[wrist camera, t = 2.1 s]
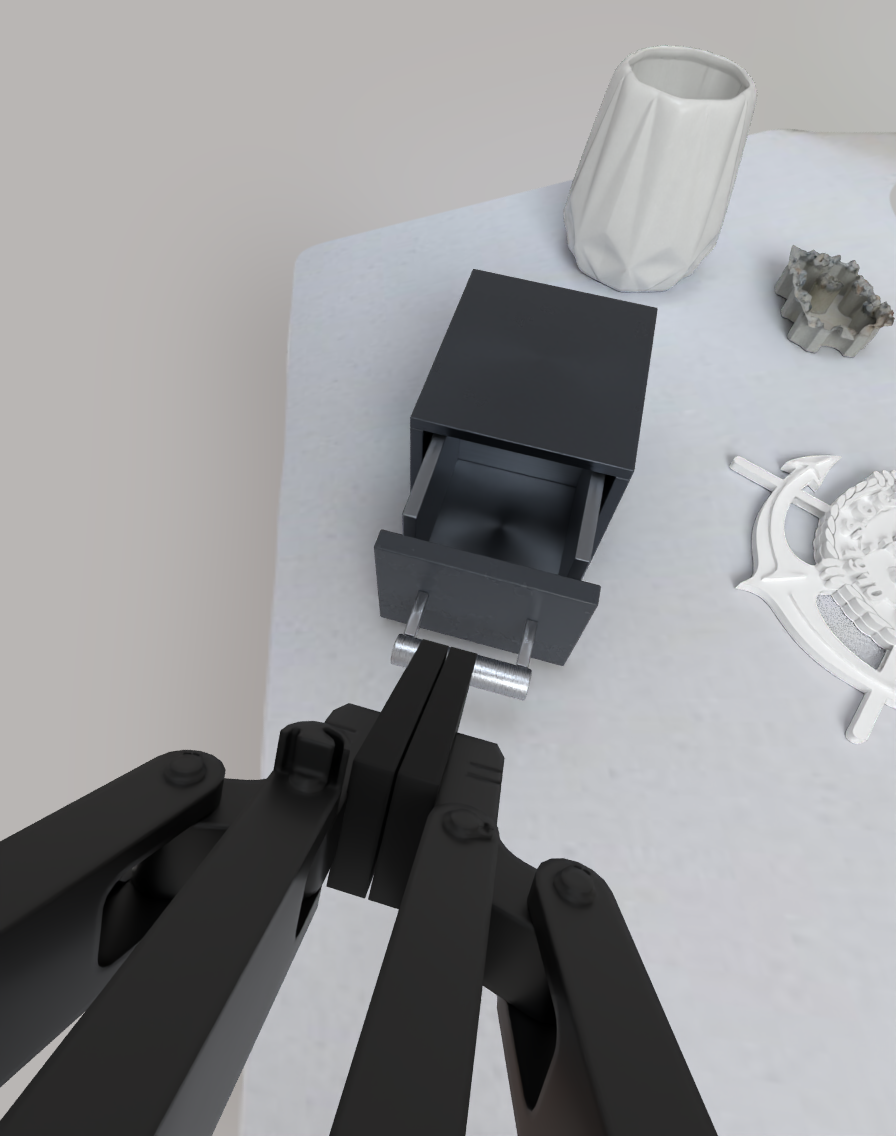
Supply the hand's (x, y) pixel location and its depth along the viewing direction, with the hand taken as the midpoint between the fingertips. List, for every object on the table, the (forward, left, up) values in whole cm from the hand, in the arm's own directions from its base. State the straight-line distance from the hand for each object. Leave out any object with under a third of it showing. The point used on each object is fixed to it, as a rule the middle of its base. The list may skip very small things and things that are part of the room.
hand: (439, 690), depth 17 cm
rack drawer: (-13, +6, -17) cm, 22 cm away
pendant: (-10, +36, -18) cm, 42 cm away
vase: (-47, +26, -18) cm, 57 cm away
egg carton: (-37, +41, -18) cm, 58 cm away
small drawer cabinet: (-23, +10, -18) cm, 31 cm away
